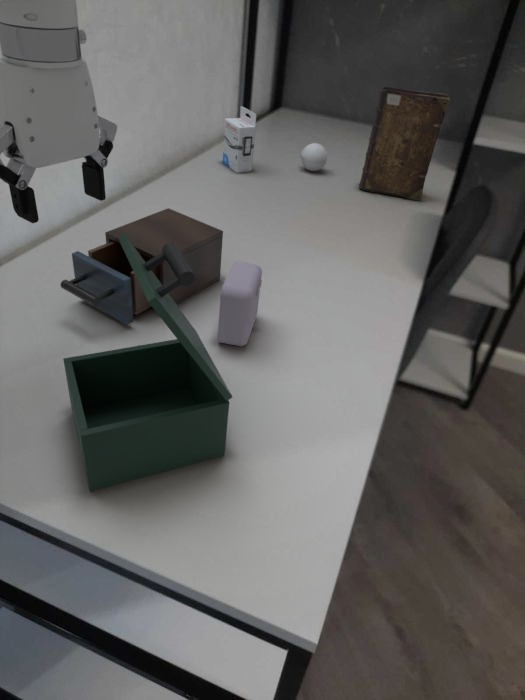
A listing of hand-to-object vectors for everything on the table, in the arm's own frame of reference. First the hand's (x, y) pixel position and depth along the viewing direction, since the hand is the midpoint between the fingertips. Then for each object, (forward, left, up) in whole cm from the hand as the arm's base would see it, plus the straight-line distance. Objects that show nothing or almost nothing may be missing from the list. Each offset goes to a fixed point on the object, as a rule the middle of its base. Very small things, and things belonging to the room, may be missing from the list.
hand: (63, 207), depth 62 cm
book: (+87, +46, -21) cm, 100 cm away
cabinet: (+17, +15, -21) cm, 31 cm away
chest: (+5, -19, -21) cm, 29 cm away
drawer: (+8, +10, -20) cm, 24 cm away
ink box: (+52, +69, -21) cm, 88 cm away
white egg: (+72, +63, -21) cm, 97 cm away
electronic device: (+24, -2, -21) cm, 32 cm away
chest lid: (+8, -19, -5) cm, 22 cm away
